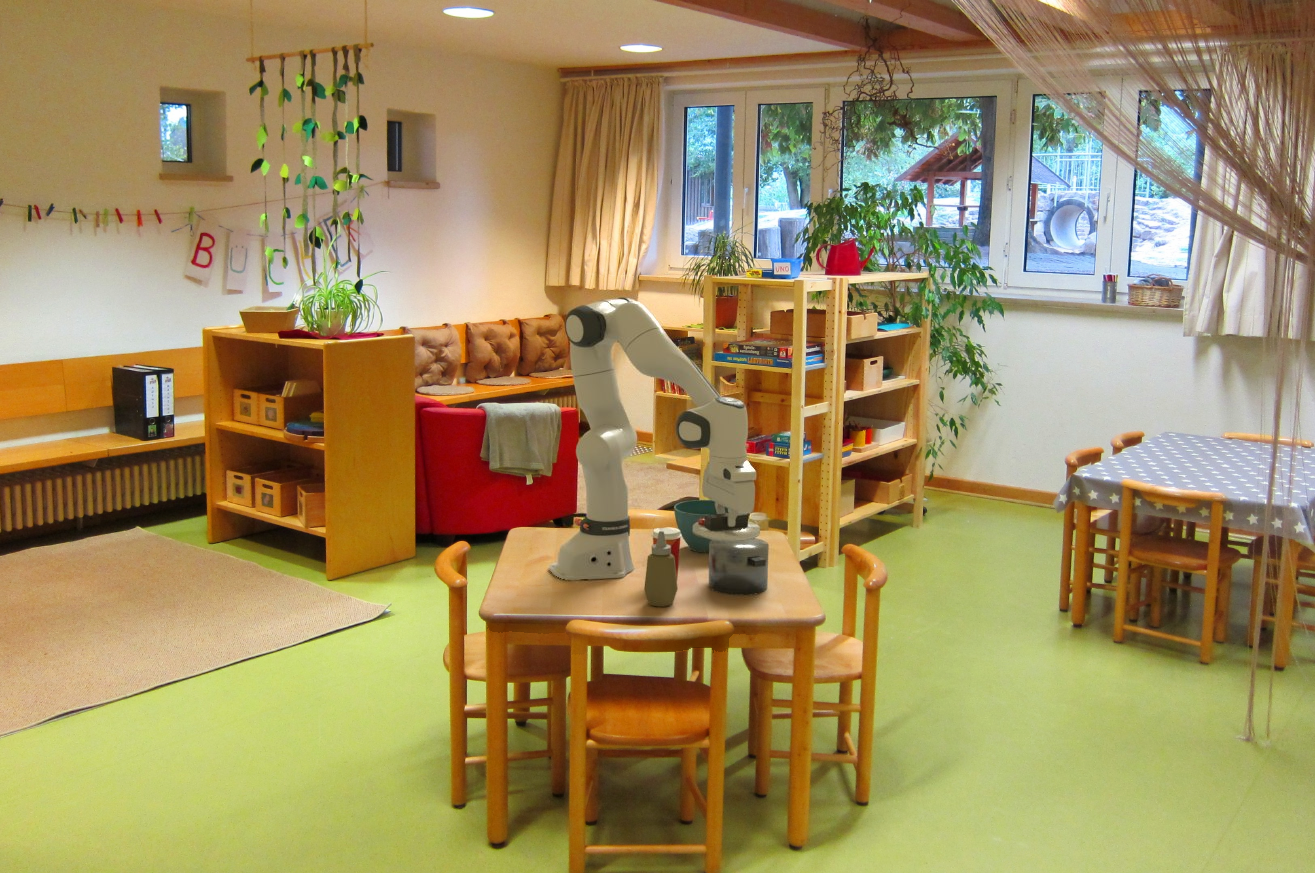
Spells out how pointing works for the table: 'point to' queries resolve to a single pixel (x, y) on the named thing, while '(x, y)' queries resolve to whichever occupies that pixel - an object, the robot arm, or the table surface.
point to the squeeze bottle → (661, 574)
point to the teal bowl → (694, 521)
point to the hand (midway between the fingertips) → (726, 523)
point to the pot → (738, 566)
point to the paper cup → (670, 541)
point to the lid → (726, 528)
